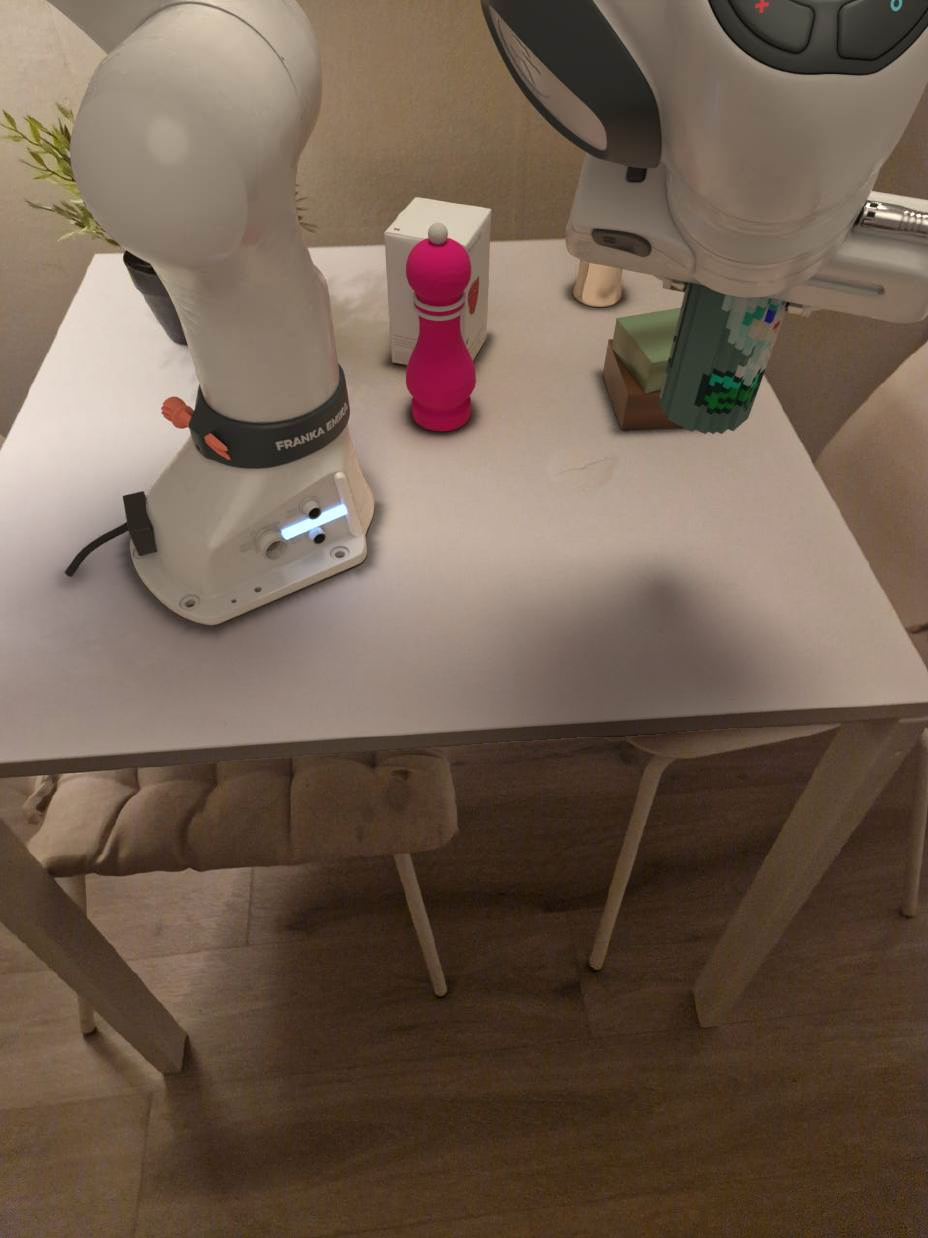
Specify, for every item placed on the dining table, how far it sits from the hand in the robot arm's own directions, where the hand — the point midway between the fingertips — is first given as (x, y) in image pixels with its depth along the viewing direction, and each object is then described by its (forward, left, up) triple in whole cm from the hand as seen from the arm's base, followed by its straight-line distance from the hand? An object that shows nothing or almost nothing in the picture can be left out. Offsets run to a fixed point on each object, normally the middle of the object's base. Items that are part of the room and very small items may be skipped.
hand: (737, 290), depth 51 cm
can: (-1, 0, -9) cm, 9 cm away
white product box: (+9, +39, -26) cm, 48 cm away
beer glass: (+32, +35, -26) cm, 54 cm away
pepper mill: (+1, +30, -26) cm, 40 cm away
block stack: (+20, +16, -26) cm, 36 cm away
